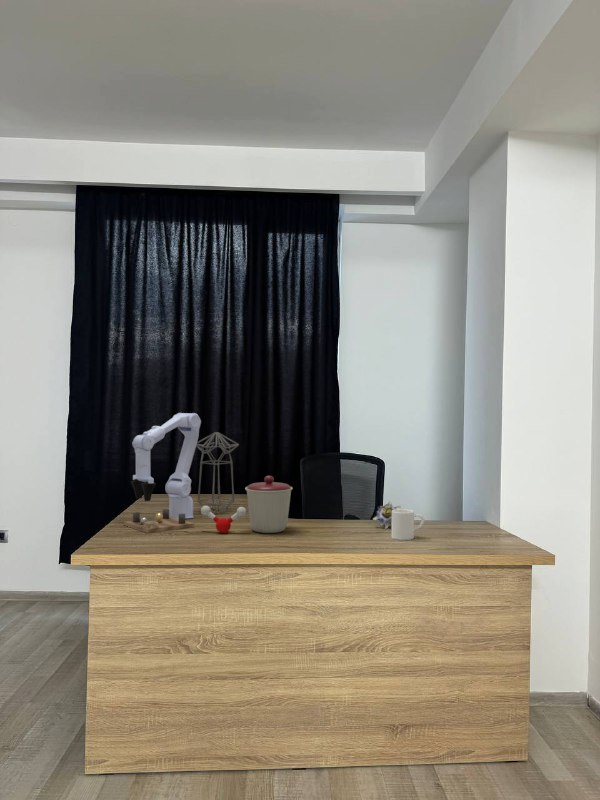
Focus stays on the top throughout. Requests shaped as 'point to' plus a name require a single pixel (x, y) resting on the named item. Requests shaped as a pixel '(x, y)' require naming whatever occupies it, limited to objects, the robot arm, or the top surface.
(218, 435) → the geometric lantern
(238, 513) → the molecular model
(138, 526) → the wooden board with pegs
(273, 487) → the canister
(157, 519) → the metal crank handle
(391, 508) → the passion flower
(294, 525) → the top surface
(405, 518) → the mug
